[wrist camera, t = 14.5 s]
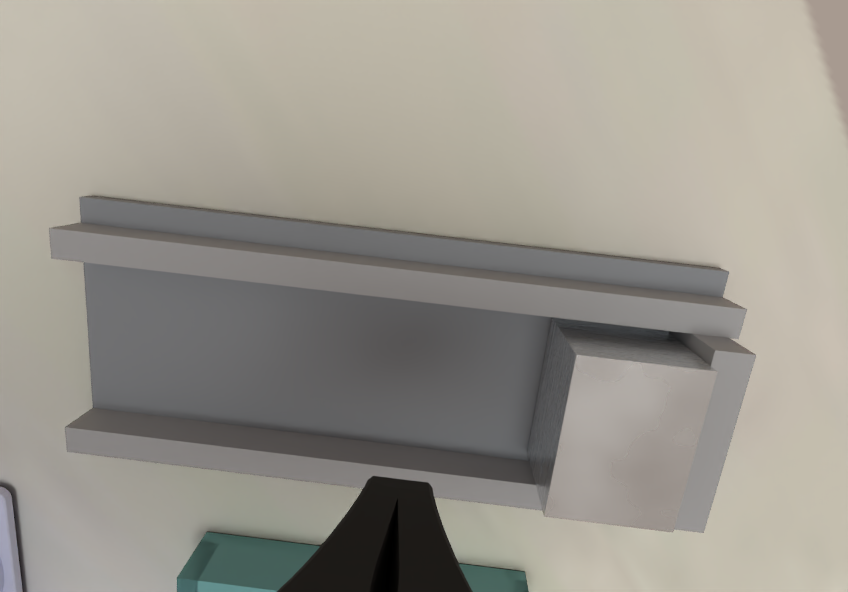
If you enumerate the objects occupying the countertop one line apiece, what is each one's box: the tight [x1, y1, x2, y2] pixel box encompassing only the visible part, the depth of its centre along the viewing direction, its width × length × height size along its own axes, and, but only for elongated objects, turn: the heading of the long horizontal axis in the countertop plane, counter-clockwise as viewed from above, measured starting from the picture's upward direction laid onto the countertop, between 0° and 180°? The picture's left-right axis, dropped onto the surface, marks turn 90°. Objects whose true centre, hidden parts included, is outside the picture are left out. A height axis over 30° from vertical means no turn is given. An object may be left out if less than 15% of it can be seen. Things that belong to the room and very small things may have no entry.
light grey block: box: [527, 318, 718, 532], centre depth 17 cm, size 4×5×4 cm
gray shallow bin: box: [49, 196, 756, 533], centre depth 18 cm, size 22×10×4 cm, turn 84°
